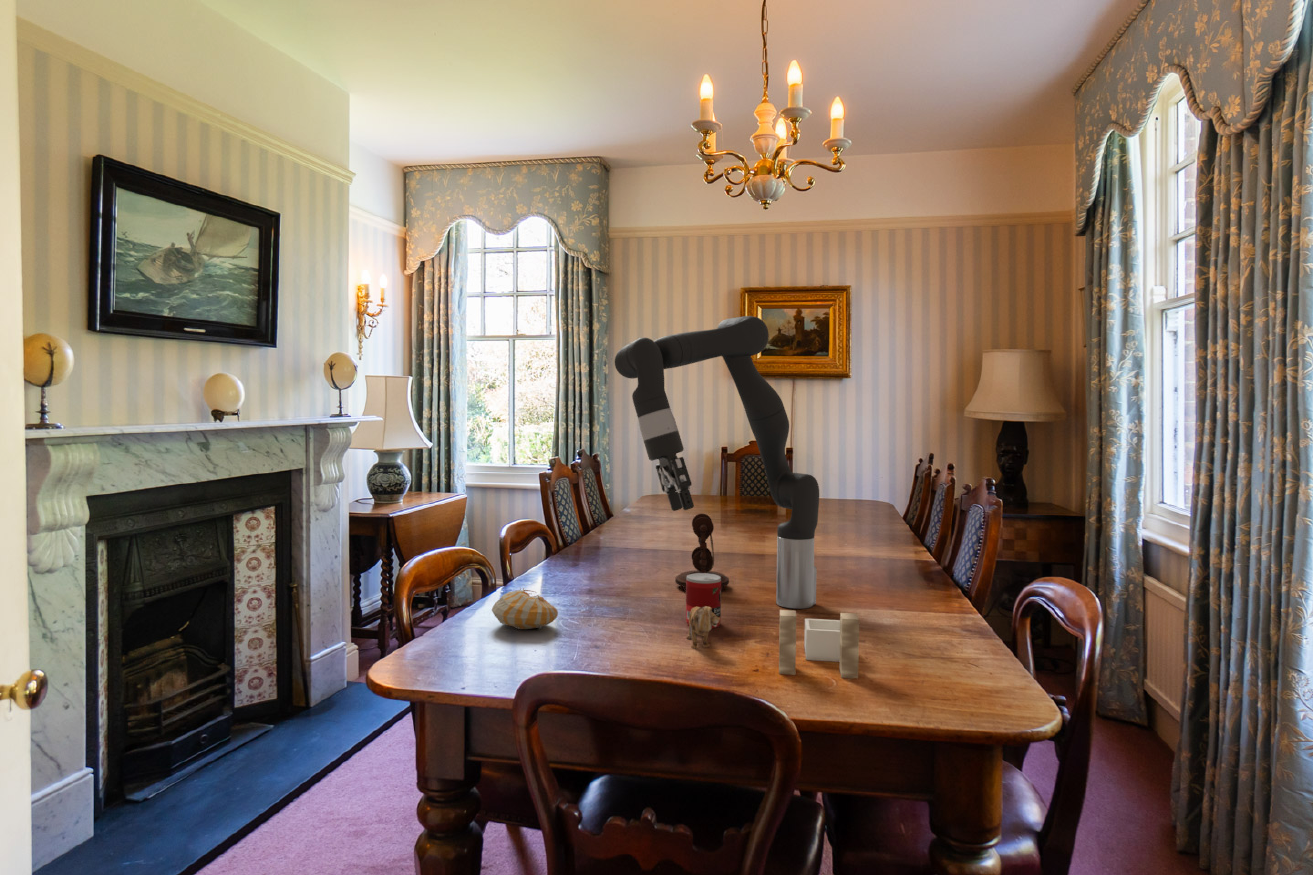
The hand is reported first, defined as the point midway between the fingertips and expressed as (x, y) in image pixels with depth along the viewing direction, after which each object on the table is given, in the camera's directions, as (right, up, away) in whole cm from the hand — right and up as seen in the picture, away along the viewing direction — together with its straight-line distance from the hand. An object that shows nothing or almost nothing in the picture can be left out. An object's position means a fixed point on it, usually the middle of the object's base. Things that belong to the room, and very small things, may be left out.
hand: (683, 509), depth 152 cm
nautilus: (-35, -28, +16) cm, 48 cm away
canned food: (+5, -28, +17) cm, 33 cm away
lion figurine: (+4, -29, +4) cm, 29 cm away
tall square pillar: (+19, -29, -13) cm, 37 cm away
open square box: (+29, -29, -3) cm, 41 cm away
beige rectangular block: (+30, -29, -14) cm, 45 cm away
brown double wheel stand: (+7, -27, +52) cm, 59 cm away
